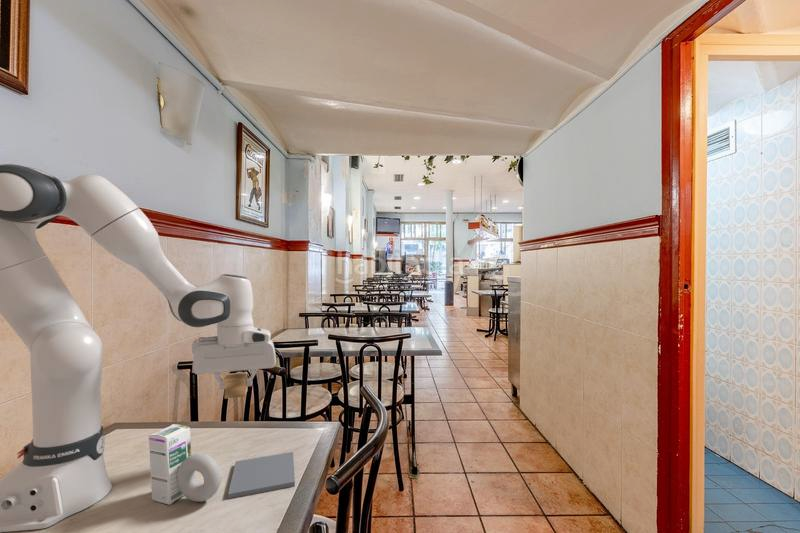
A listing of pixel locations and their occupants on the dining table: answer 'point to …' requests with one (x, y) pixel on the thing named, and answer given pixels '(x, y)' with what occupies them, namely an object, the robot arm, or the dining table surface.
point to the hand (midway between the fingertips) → (236, 387)
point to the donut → (189, 482)
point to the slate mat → (262, 475)
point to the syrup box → (168, 461)
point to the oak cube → (235, 385)
